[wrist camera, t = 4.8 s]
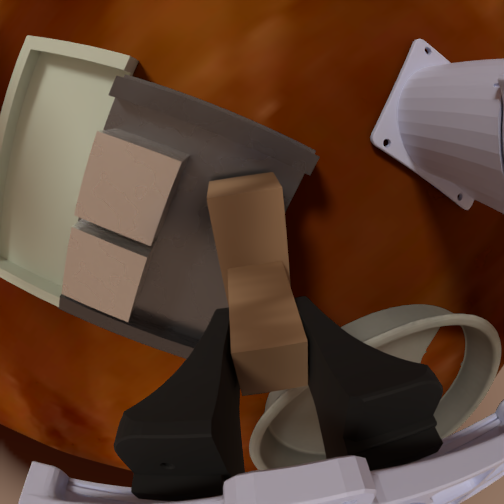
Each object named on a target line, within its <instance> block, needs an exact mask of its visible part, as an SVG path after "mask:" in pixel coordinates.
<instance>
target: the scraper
mask: <svg viewBox="0 0 504 504" xmlns="http://www.w3.org/2000/svg"><path fill="white" fill-rule="evenodd" d="M207 204H208V209H209V214H210V220H211V225H212V230H213V235H214V240H215V245H216V249H217V254H218V259H219V264H220V269H221V273H222V278H223V283H224V288H225V292H226V297H227V301H228V306H229V320H230V341H231V355H232V359H233V363H234V366H235V370H236V374H237V378H238V381H239V385H240V389H241V392H242V396H245V395H253V394H260V393H267V392H273V391H279V390H285V389H291V388H297V387H302V386H307V385H308V341H307V338H306V334H305V331H304V328H303V325H302V322H301V318H300V315H299V312H298V309H297V306H296V303H295V300H294V296H293V293H292V290H291V285H290V271H289V258H288V245H287V233H286V222H285V211H284V200H283V189H282V186H281V185H280V183H279V181H278V179H277V178H276V176H275V174H274V173H273V172H269V173H261V174H254V175H247V176H241V177H234V178H227V179H221V180H215V181H209V186H208V192H207Z"/></svg>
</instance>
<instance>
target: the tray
mask: <svg viewBox="0 0 504 504" xmlns="http://www.w3.org/2000/svg"><path fill="white" fill-rule="evenodd" d="M138 62H139V61H138V60H136V59H135V58H133V57H131V56H128V55H125V54H121V53H117V52H113V51H109V50H105V49H101V48H96V47H92V46H87V45H82V44H77V43H72V42H67V41H61V40H56V39H49V38H43V37H36V36H28V35H27V37H26V39H25V42H24V44H23V47H22V49H21V52H20V54H19V57H18V60H17V62H16V65H15V68H14V71H13V74H12V76H11V80H10V83H9V86H8V89H7V92H6V96H5V99H4V103H3V106H2V110H1V114H0V277H1V278H3V279H5V280H6V281H8V282H10V283H12V284H14V285H16V286H17V287H19V288H21V289H23V290H25V291H27V292H29V293H31V294H33V295H35V296H37V297H39V298H41V299H43V300H45V301H47V302H49V303H51V304H53V305H55V306H57V307H59V300H60V295H61V293H62V284H63V276H64V269H65V262H66V256H67V250H68V244H69V238H70V233H71V228H72V226H73V225H74V224H76V223H77V222H78V218H79V217H77V216H75V215H74V213H75V209H76V204H77V200H78V196H79V192H80V188H81V184H82V180H83V176H84V172H85V169H86V165H87V162H88V158H89V155H90V152H91V148H92V145H93V142H94V139H95V136H96V133H97V131H100V130H103V129H104V126H105V123H106V120H107V118H108V115H109V112H110V110H111V107H112V104H113V102H114V99H115V97H112V96H109V92H110V90H111V87H112V85H113V82H114V80H115V78H116V76H120V77H124V75H125V74H126V75H129V76H132V75H133V73H134V71H135V69H136V66H137V64H138Z"/></svg>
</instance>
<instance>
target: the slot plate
mask: <svg viewBox="0 0 504 504" xmlns="http://www.w3.org/2000/svg"><path fill="white" fill-rule="evenodd" d="M109 96H112V97H115V99H114V102H113V104H112V107H111V110H110V112H109V115H108V118H107V120H106V123H105V126H104V129H103V130H108V129H115V128H117V129H120V130H123V131H126V132H129V133H132V134H135V135H137V136H140V137H143V138H146V139H148V140H151V141H154V142H157V143H159V144H162V145H165V146H167V147H170V148H173V149H175V150H178V151H180V152H183V153H186V154H188V155H189V158H188V160H187V162H186V165H185V167H184V170H183V172H182V175H181V177H180V180H179V183H178V185H177V188H176V190H175V193H174V195H173V198H172V201H171V203H170V206H169V209H168V212H167V214H166V217H165V220H164V223H163V225H162V228H161V230H160V231H159V233H158V235H157V236H156V237H158V240H157V243H156V246H155V249H154V252H153V255H152V258H151V261H150V264H149V267H148V270H147V273H146V276H145V279H144V283H143V286H142V289H141V292H140V296H139V298H138V301H137V303H136V305H135V307H134V310H133V312H132V314H131V317H130V319H129V321H128V322H126V321H124V320H121V319H119V318H116V317H114V316H111V315H109V314H106V313H104V312H102V311H99V310H97V309H94V308H92V307H90V306H87V305H85V304H83V303H81V302H78V301H76V300H74V299H72V298H69V297H67V296H65V295H63V294H61V295H60V300H59V309H61V310H63V311H65V312H67V313H69V314H72V315H74V316H76V317H78V318H81V319H83V320H85V321H87V322H90V323H92V324H94V325H97V326H99V327H102V328H104V329H106V330H109V331H111V332H114V333H116V334H119V335H121V336H124V337H127V338H129V339H132V340H134V341H137V342H140V343H142V344H145V345H148V346H151V347H154V348H156V349H159V350H162V351H165V352H168V353H171V354H174V355H177V356H180V357H183V358H186V359H187V358H188V357H189V355H190V354H191V352H192V351H193V349H194V348H195V346H196V345H197V343H198V342H199V340H200V339H201V337H202V335H203V333H204V332H205V330H206V328H207V326H208V324H209V322H210V320H211V318H212V316H213V314H214V312H215V310H216V309H220V308H228V307H229V306H228V301H227V297H226V292H225V288H224V283H223V278H222V273H221V269H220V264H219V259H218V254H217V249H216V245H215V240H214V235H213V230H212V225H211V220H210V214H209V209H208V204H207V192H208V186H209V181H215V180H221V179H227V178H234V177H241V176H247V175H254V174H261V173H269V172H273V173H274V174H275V176H276V178H277V179H278V181H279V183H280V185H281V186H282V189H283V200H284V211H285V212H286V210H287V208H288V206H289V204H290V202H291V200H292V198H293V196H294V194H295V192H296V190H297V188H298V186H299V184H300V182H301V180H302V178H303V176H304V174H305V173H306V174H308V175H311V173H312V171H313V169H314V167H315V165H316V163H317V161H318V159H319V156H317V155H315V152H316V151H315V150H313V149H311V148H309V147H307V146H305V145H303V144H301V143H299V142H297V141H295V140H293V139H291V138H289V137H287V136H285V135H283V134H281V133H279V132H276V131H274V130H272V129H270V128H268V127H265V126H263V125H261V124H259V123H257V122H254V121H252V120H250V119H247V118H245V117H243V116H240V115H238V114H236V113H233V112H231V111H228V110H226V109H223V108H221V107H219V106H216V105H213V104H211V103H208V102H206V101H203V100H201V99H198V98H195V97H192V96H190V95H187V94H184V93H181V92H179V91H176V90H173V89H170V88H167V87H164V86H161V85H158V84H155V83H152V82H149V81H146V80H143V79H139V78H136V77H133V76H129V75H126V74H125V75H124V77H120V76H116V78H115V80H114V82H113V85H112V87H111V90H110V92H109ZM81 219H82V218H78V221H80V220H81Z"/></svg>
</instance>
